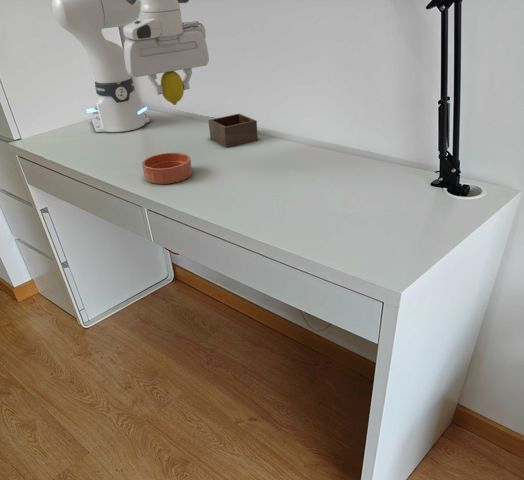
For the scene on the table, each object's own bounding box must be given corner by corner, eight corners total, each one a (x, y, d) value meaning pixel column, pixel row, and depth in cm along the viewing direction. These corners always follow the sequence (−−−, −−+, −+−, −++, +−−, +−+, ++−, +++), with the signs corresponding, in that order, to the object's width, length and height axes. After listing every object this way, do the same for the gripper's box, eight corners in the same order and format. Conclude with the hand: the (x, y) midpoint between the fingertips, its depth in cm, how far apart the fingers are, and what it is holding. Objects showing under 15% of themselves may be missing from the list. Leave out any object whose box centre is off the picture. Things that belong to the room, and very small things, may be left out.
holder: (210, 139, 152) (208, 120, 149) (240, 132, 156) (239, 113, 153) (226, 147, 145) (224, 127, 142) (257, 140, 149) (256, 120, 145)
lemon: (188, 105, 123) (183, 69, 118) (166, 109, 122) (161, 72, 117) (182, 100, 127) (177, 65, 122) (161, 104, 126) (155, 68, 121)
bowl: (138, 174, 131) (135, 159, 129) (180, 164, 136) (178, 149, 133) (155, 188, 123) (152, 172, 120) (200, 177, 127) (198, 161, 125)
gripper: (198, 18, 120) (205, 82, 128) (116, 29, 112) (129, 96, 121) (209, 21, 115) (216, 86, 124) (125, 32, 108) (138, 101, 117)
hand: (172, 91), depth 123 cm, fingers closed on lemon, 5 cm apart
